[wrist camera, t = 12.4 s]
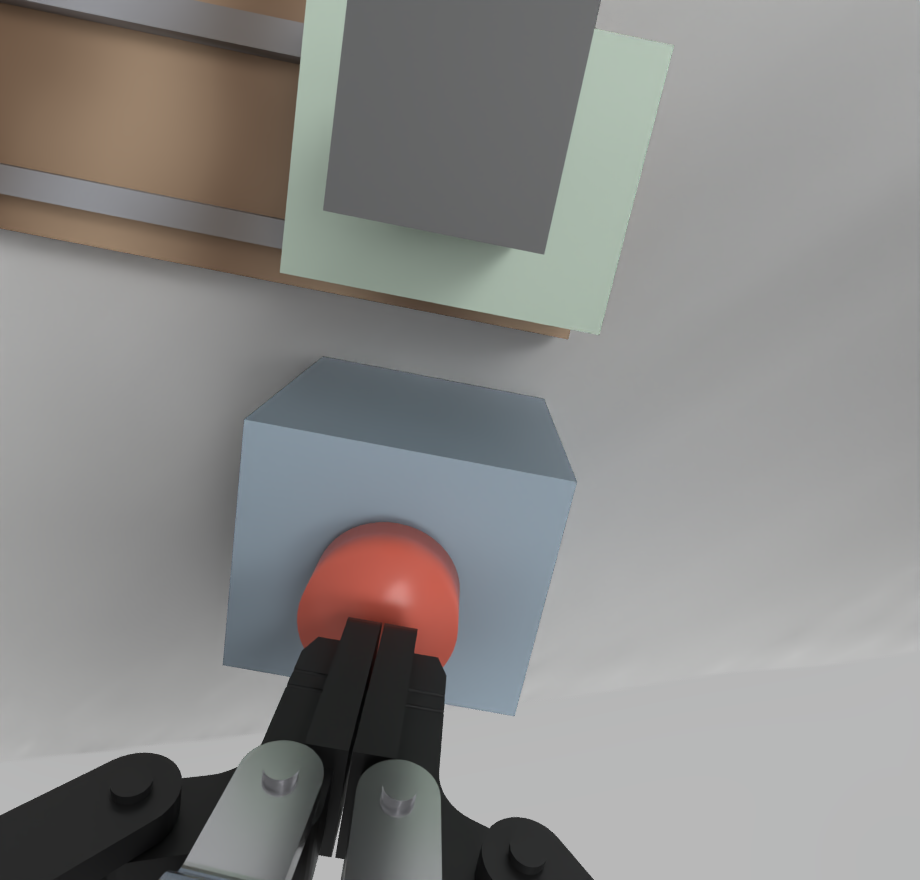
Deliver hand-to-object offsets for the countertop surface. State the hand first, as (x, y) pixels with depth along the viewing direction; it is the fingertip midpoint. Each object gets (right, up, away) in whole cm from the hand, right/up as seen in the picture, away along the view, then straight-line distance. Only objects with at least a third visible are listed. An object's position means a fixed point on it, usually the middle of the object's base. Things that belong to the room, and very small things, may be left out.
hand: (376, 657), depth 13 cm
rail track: (-4, +14, +7) cm, 16 cm away
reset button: (0, +1, +2) cm, 2 cm away
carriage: (+2, +12, +4) cm, 13 cm away
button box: (0, +4, +10) cm, 11 cm away
